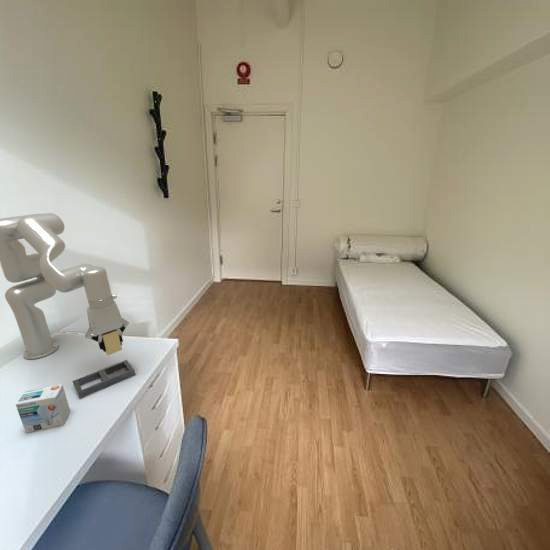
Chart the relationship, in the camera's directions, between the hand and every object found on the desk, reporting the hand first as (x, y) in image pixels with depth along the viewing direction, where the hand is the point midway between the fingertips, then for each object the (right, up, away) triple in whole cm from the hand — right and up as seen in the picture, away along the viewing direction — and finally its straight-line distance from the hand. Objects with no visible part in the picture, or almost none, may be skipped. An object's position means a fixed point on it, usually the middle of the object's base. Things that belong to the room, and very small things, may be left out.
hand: (112, 346), depth 118 cm
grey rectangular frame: (-3, -13, +2) cm, 14 cm away
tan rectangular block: (0, -1, 0) cm, 1 cm away
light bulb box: (-11, -20, -17) cm, 29 cm away
